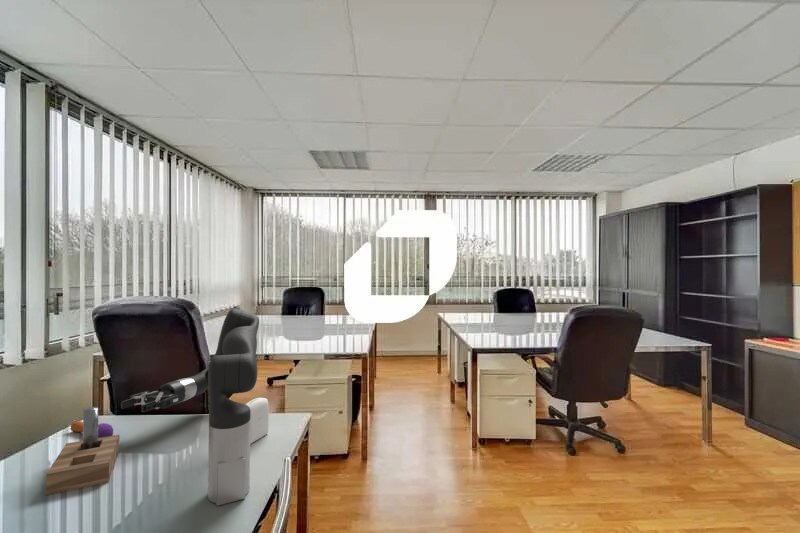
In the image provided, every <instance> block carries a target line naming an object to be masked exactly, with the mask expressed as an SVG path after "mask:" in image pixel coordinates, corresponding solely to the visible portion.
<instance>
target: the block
mask: <svg viewBox="0 0 800 533" xmlns="http://www.w3.org/2000/svg"><path fill="white" fill-rule="evenodd" d="M119 454H120V434H117V435H116V434H115V435H114V434H113V436H108V437H102V438H98V447H97V448H91V449H86V450H83V440H79V441H73V442H67V443H65V445H64V446H63V448H62V449H61V450H60V452H59V454H58V456H57V457H56V459H55V460H54V462H52V464H51V466H50V467H49V469H48V471H47V473H46V475H45V479H46V480H45V496H48V495H50V496H51V495H54V494H59V493H64V492H68V491H73V490H77V489H82V488H83V489H84V488H88V487H93V486H97V485H102V484H106V483H107V484H108V483H109V482H110V481H111V480H110V479H111V477H112V474H113V471H114V467H115V466H116V462H117V461H118V460H117V459H118V458H119Z"/></svg>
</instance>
